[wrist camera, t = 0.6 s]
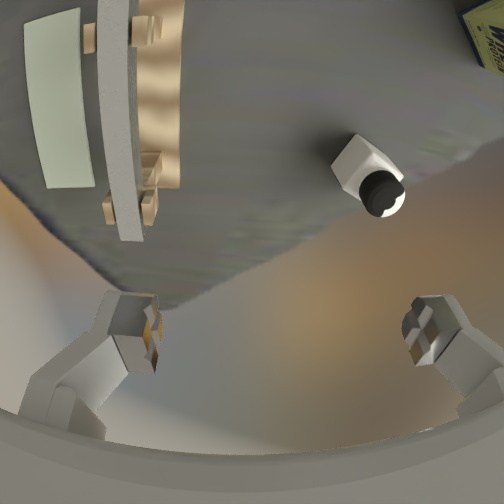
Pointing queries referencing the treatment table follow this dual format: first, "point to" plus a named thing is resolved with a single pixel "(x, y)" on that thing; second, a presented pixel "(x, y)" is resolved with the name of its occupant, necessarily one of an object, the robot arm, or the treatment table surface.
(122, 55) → the aluminium rail
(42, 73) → the sage mat
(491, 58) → the protein box
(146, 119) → the hook rack
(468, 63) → the treatment table surface
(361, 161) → the medicine bottle
